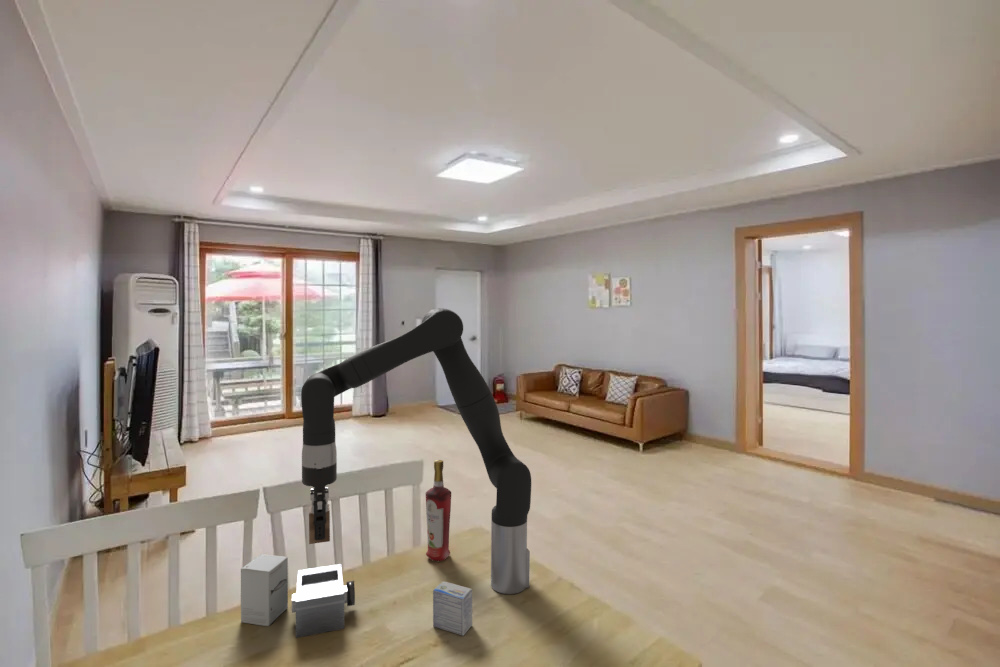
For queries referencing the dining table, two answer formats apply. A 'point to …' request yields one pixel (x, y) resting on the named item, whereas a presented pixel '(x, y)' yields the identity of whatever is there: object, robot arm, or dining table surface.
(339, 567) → the grey hollow block
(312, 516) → the block
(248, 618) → the supplement box
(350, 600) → the shaft
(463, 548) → the dining table surface
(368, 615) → the dining table surface
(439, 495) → the liquor
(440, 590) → the medicine box
